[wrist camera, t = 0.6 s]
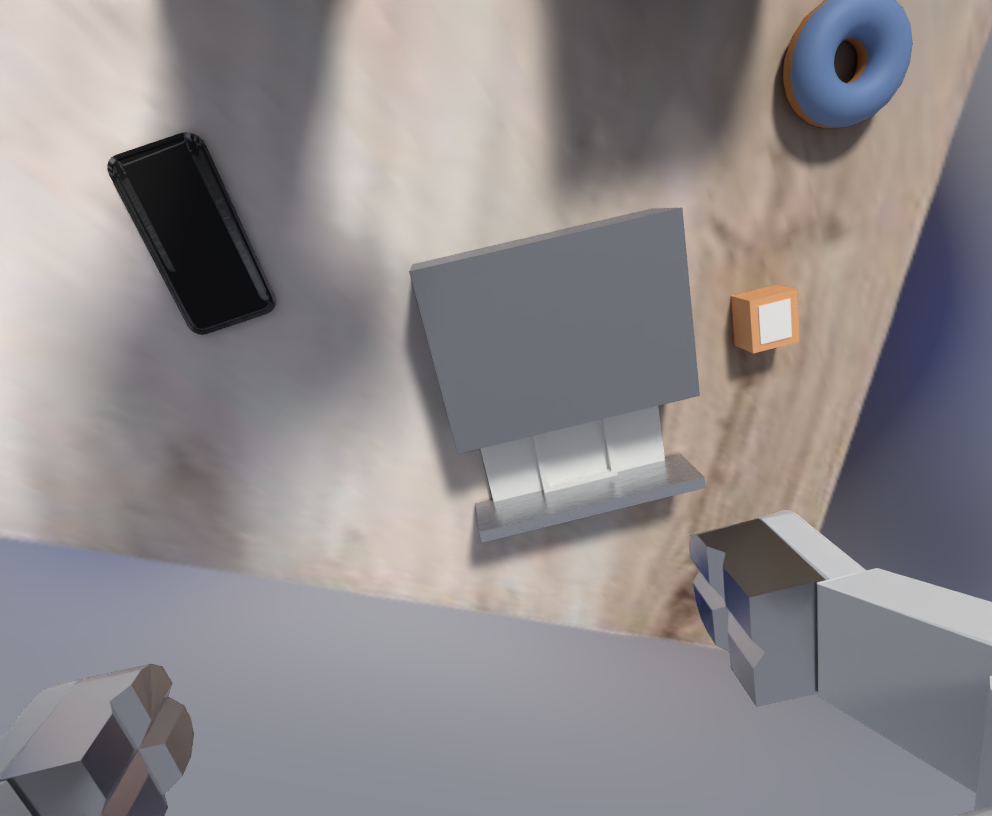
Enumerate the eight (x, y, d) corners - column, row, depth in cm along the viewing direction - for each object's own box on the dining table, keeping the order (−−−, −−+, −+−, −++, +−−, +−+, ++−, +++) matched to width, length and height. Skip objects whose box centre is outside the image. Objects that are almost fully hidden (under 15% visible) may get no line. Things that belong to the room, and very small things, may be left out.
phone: (195, 128, 43) (277, 310, 48) (200, 130, 44) (281, 308, 50) (100, 160, 43) (192, 338, 48) (108, 161, 44) (197, 336, 50)
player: (412, 264, 49) (409, 271, 43) (651, 208, 50) (682, 207, 43) (455, 427, 55) (457, 454, 48) (670, 375, 55) (699, 395, 49)
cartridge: (730, 295, 53) (750, 301, 50) (774, 284, 53) (797, 289, 50) (733, 345, 55) (753, 353, 51) (777, 334, 55) (799, 342, 52)
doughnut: (887, 121, 49) (928, 107, 45) (775, 144, 49) (804, 131, 45) (885, -6, 47) (928, -35, 42) (768, 18, 47) (798, -8, 42)
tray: (440, 370, 52) (440, 388, 47) (664, 317, 53) (690, 328, 48) (477, 512, 58) (481, 542, 52) (680, 462, 58) (705, 487, 53)
